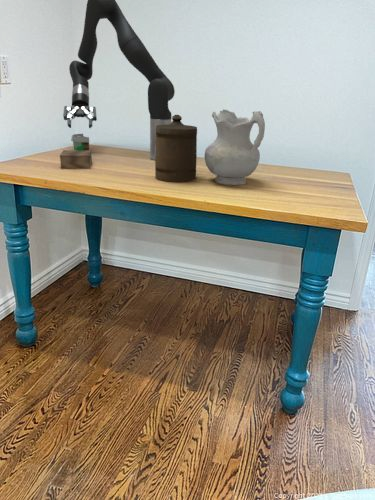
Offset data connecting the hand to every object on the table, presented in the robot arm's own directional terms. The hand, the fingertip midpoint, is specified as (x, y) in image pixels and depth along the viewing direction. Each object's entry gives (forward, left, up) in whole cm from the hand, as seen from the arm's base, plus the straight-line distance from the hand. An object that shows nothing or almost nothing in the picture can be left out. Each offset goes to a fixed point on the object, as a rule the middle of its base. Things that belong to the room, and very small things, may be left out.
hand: (79, 126), depth 182 cm
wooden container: (-37, +45, -13) cm, 60 cm away
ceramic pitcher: (-57, +52, -13) cm, 78 cm away
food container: (0, +9, -13) cm, 15 cm away
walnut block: (0, +23, -13) cm, 26 cm away
